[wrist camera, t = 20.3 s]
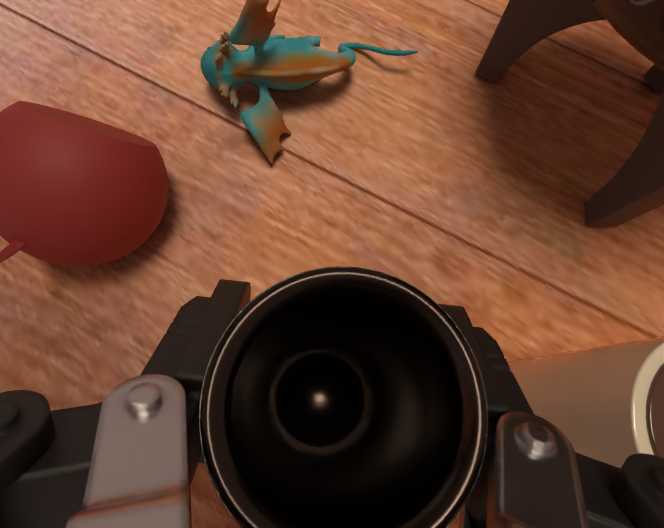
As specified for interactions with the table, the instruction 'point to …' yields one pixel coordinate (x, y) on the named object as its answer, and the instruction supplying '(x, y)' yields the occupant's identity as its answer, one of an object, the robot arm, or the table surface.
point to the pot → (601, 397)
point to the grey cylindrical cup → (343, 406)
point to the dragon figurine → (271, 68)
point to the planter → (660, 48)
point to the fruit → (75, 187)
